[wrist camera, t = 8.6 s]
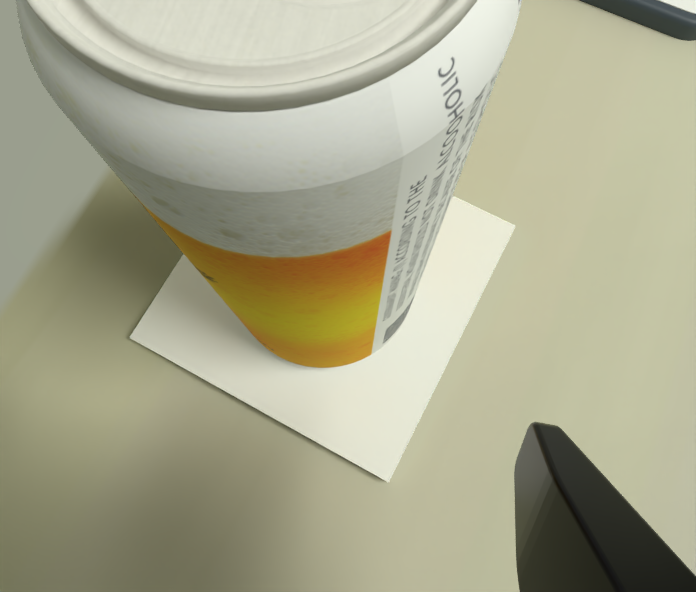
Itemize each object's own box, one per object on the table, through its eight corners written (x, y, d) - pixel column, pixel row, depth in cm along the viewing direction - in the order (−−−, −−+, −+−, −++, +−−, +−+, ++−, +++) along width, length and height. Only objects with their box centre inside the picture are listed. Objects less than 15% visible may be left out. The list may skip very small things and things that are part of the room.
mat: (387, 481, 19) (388, 482, 19) (135, 341, 21) (129, 337, 20) (511, 231, 21) (515, 225, 21) (277, 119, 23) (275, 110, 22)
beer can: (288, 179, 21) (152, -391, 7) (440, 247, 21) (638, -235, 6) (207, 323, 20) (-176, -17, 6) (366, 402, 19) (399, 244, 5)
